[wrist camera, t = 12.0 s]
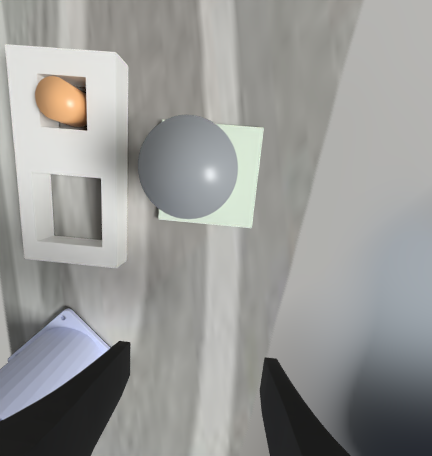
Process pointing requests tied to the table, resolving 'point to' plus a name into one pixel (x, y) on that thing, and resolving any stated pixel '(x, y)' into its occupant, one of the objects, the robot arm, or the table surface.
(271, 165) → the table surface
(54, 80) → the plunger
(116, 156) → the housing
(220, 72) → the table surface
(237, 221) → the mat
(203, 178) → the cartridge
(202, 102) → the table surface
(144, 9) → the table surface
